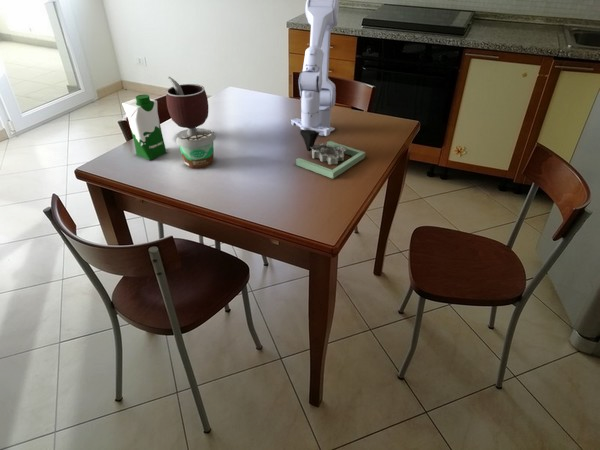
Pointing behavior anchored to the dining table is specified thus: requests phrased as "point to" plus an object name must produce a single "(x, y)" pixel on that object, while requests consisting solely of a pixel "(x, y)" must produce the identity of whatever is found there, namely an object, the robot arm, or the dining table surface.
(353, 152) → the frame
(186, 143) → the food container
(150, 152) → the milk carton
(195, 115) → the mate gourd
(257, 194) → the dining table surface
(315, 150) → the egg carton
